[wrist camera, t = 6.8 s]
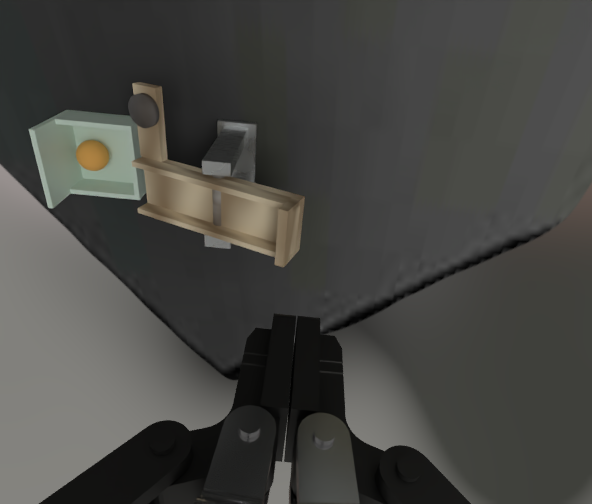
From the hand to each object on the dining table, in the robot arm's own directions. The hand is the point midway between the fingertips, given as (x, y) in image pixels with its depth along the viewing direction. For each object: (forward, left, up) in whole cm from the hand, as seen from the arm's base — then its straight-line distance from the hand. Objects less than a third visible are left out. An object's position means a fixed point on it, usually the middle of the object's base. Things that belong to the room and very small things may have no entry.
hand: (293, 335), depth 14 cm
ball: (+8, -23, -33) cm, 40 cm away
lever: (+5, -7, -25) cm, 27 cm away
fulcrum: (+8, -8, -35) cm, 36 cm away
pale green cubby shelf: (+8, -22, -35) cm, 41 cm away
